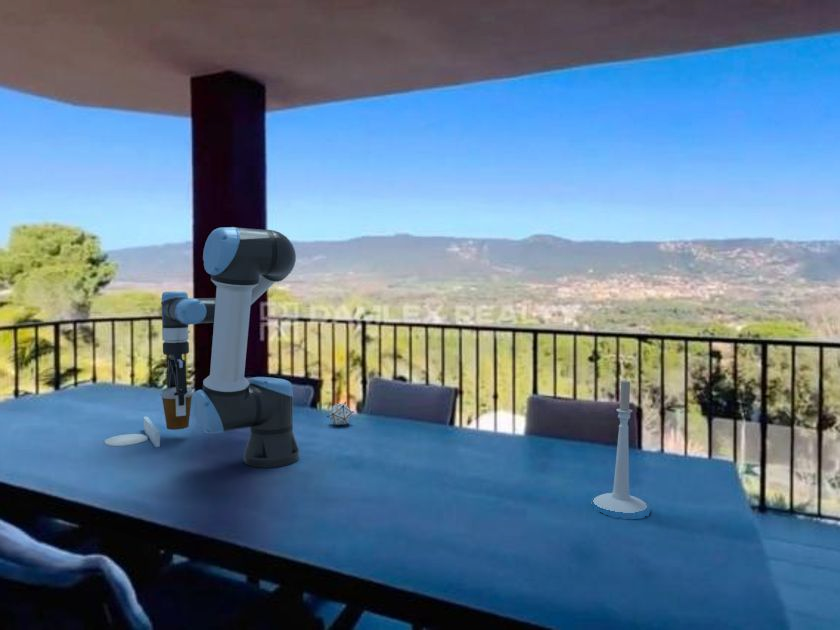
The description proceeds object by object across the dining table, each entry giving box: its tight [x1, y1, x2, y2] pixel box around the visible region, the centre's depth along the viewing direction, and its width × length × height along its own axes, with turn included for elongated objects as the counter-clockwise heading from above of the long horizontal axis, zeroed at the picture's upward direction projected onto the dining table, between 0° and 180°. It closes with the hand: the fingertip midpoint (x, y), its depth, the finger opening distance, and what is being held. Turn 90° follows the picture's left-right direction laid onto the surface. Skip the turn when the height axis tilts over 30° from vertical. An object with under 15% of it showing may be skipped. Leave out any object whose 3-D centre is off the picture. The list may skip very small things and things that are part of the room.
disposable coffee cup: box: [159, 386, 194, 431], centre depth 184 cm, size 10×10×12 cm
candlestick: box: [592, 380, 648, 513], centre depth 134 cm, size 13×13×30 cm
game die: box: [326, 401, 355, 428], centre depth 205 cm, size 9×8×10 cm
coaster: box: [104, 433, 149, 447], centre depth 183 cm, size 12×12×1 cm
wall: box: [143, 416, 161, 448], centre depth 186 cm, size 22×1×4 cm, turn 34°
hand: (177, 412), depth 184 cm, fingers closed on disposable coffee cup, 9 cm apart
